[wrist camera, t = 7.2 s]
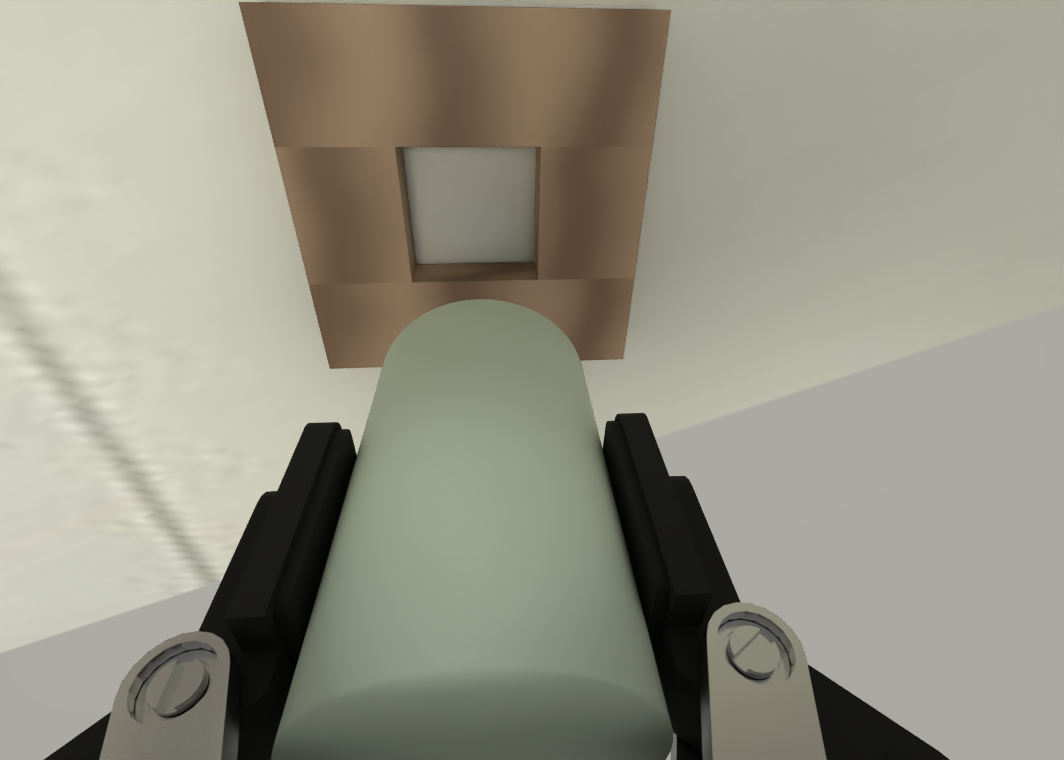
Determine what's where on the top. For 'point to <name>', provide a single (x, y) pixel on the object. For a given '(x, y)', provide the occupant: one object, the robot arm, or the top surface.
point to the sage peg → (478, 566)
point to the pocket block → (460, 121)
